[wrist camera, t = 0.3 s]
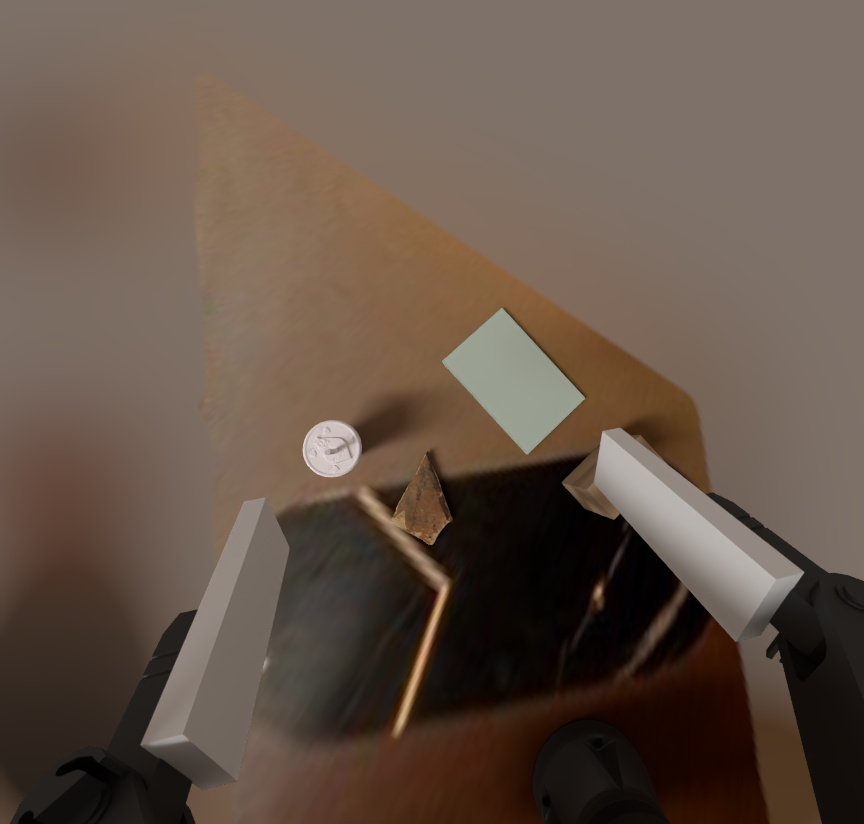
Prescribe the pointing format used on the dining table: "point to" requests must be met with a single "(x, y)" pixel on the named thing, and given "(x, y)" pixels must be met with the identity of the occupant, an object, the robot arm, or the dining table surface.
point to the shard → (423, 505)
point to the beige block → (586, 490)
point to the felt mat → (513, 380)
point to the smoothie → (332, 448)
